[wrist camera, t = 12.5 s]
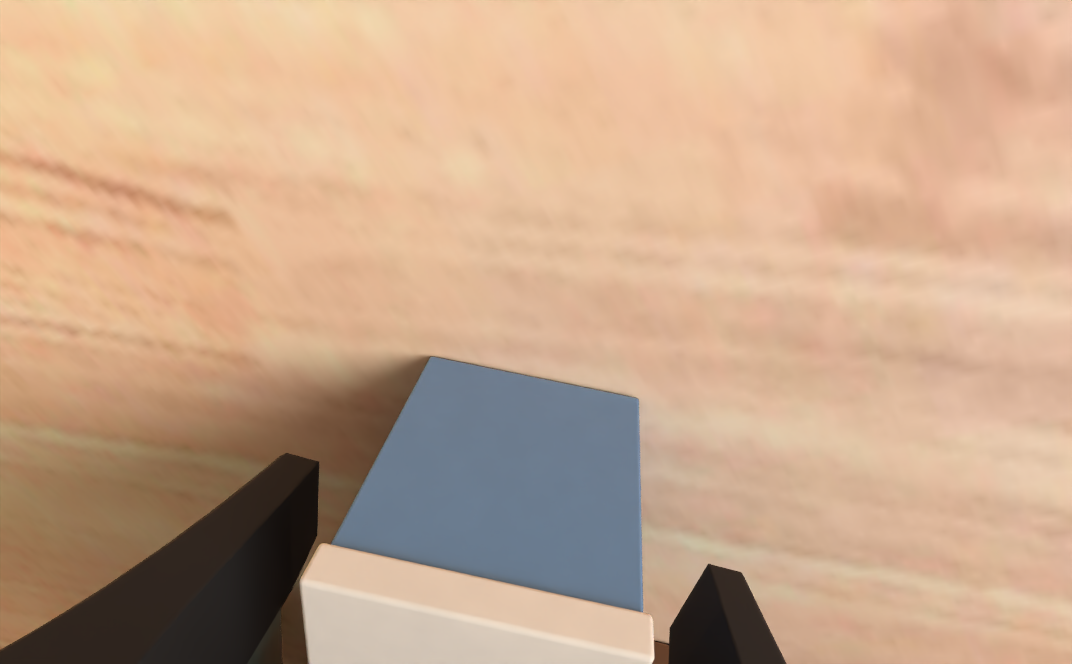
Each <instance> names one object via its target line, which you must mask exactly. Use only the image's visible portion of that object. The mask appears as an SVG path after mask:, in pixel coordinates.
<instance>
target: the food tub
mask: <svg viewBox="0 0 1072 664" xmlns="http://www.w3.org/2000/svg"><path fill="white" fill-rule="evenodd" d="M299 586H300V595H301V604H302V613H303V623H304V632H305V641H306V650H307V659H308V664H652V663H653V661H654V632H653V619H652V616H651V615H649V614H647V613H643V583H642V534H641V484H640V435H639V400H638V399H637V398H634V397H629V396H624V395H619V394H615V393H610V392H605V391H600V390H595V389H590V388H585V387H580V386H575V385H570V384H565V383H560V382H556V381H551V380H546V379H541V378H536V377H531V376H526V375H521V374H516V373H511V372H506V371H501V370H497V369H492V368H487V367H482V366H477V365H472V364H467V363H462V362H457V361H452V360H447V359H442V358H438V357H430V358H429V360H428V362H427V364H426V365H425V367H424V369H423V371H422V373H421V375H420V377H419V379H418V381H417V382H416V384H415V386H414V388H413V390H412V392H411V394H410V396H409V397H408V399H407V401H406V403H405V405H404V407H403V409H402V411H401V413H400V414H399V416H398V418H397V420H396V422H395V424H394V426H393V428H392V429H391V431H390V433H389V435H388V437H387V439H386V441H385V443H384V445H383V446H382V448H381V450H380V452H379V454H378V456H377V458H376V460H375V461H374V463H373V465H372V467H371V469H370V471H369V473H368V475H367V477H366V478H365V480H364V482H363V484H362V486H361V488H360V490H359V492H358V493H357V495H356V497H355V499H354V501H353V503H352V505H351V507H350V508H349V510H348V512H347V514H346V516H345V518H344V520H343V522H342V524H341V525H340V527H339V529H338V531H337V533H336V535H335V537H334V539H333V540H332V542H331V544H326V543H322V544H320V545H319V546H318V548H317V549H316V551H315V553H314V555H313V557H312V558H311V560H310V562H309V564H308V566H307V568H306V569H305V571H304V573H303V575H302V577H301V578H300V582H299Z"/></svg>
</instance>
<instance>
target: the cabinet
mask: <svg viewBox="0 0 1072 664" xmlns="http://www.w3.org/2000/svg"><path fill="white" fill-rule="evenodd" d="M652 664H669V645H666V644H662V643H659V642H655V641H654V661H653V663H652Z"/></svg>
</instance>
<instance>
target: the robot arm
mask: <svg viewBox="0 0 1072 664" xmlns="http://www.w3.org/2000/svg"><path fill="white" fill-rule="evenodd" d="M318 485H319V462H318V461H314V460H311V459H307V458H303V457H299V456H295V455H292V454H288V453H286V454H284V455H282V456H280V457H279V458H277V459H276V460H275V461H274V462H273V463H271V464H270V465H269V466H268V467H266V468H265V469H264V470H263V471H262V472H260V473H259V474H258V475H257V476H255V477H254V478H253V479H252V480H250V481H249V482H248V483H247V484H246V485H244V486H243V487H242V488H241V489H239V490H238V491H237V492H235V493H234V494H233V495H232V496H230V497H229V498H228V499H226V500H225V501H224V502H223V503H221V504H220V505H219V506H218V507H216V508H215V509H214V510H212V511H211V512H210V513H208V514H207V515H206V516H204V517H203V518H202V519H200V520H199V521H198V522H196V523H195V524H194V525H192V526H191V527H189V528H188V529H187V530H185V531H184V532H183V533H181V534H180V535H179V536H177V537H176V538H175V539H173V540H172V541H171V542H169V543H168V544H166V545H165V546H164V547H162V548H161V549H159V550H158V551H156V552H155V553H154V554H152V555H151V556H149V557H148V558H146V559H145V560H143V561H142V562H140V563H139V564H137V565H136V566H135V567H133V568H132V569H130V570H129V571H127V572H126V573H124V574H123V575H121V576H120V577H118V578H117V579H115V580H114V581H113V582H111V583H110V584H108V585H107V586H105V587H104V588H102V589H100V590H99V591H97V592H96V593H94V594H93V595H91V596H90V597H88V598H86V599H85V600H83V601H82V602H80V603H79V604H77V605H75V606H74V607H72V608H71V609H69V610H67V611H66V612H64V613H62V614H61V615H59V616H57V617H56V618H54V619H52V620H51V621H49V622H47V623H46V624H44V625H43V626H41V627H39V628H38V629H36V630H34V631H33V632H31V633H29V634H27V635H26V636H24V637H22V638H21V639H19V640H17V641H15V642H13V643H12V644H10V645H8V646H6V647H5V648H3V649H1V650H0V664H247V663H248V661H249V660H250V658H251V657H252V655H253V653H254V652H255V650H256V648H257V647H258V645H259V643H260V642H261V640H262V638H263V637H264V635H265V634H266V632H267V630H268V629H269V627H270V625H271V624H272V622H273V620H274V619H275V617H276V615H277V614H278V612H279V610H280V609H281V607H282V605H283V604H284V602H285V600H286V598H287V597H288V595H289V593H290V592H291V590H292V588H293V586H294V584H295V582H296V580H297V578H298V576H299V573H300V571H301V569H302V567H303V565H304V563H305V561H306V559H307V556H308V554H309V552H310V550H311V548H312V545H313V543H314V541H315V539H316V537H317V527H318ZM669 664H786V662H785V660H784V658H783V656H782V654H781V652H780V650H779V648H778V646H777V644H776V642H775V640H774V638H773V636H772V634H771V632H770V630H769V627H768V625H767V623H766V621H765V619H764V617H763V615H762V613H761V611H760V609H759V607H758V605H757V603H756V601H755V599H754V596H753V594H752V592H751V590H750V588H749V586H748V584H747V582H746V580H745V578H744V576H743V574H742V573H741V572H737V571H734V570H730V569H726V568H722V567H718V566H714V565H711V564H708V565H707V567H706V569H705V570H704V572H703V574H702V575H701V577H700V579H699V580H698V582H697V584H696V585H695V587H694V589H693V590H692V592H691V594H690V595H689V597H688V599H687V600H686V602H685V604H684V605H683V607H682V609H681V610H680V612H679V613H678V615H677V617H676V618H675V620H674V622H673V623H672V625H671V627H670V638H669Z"/></svg>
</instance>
